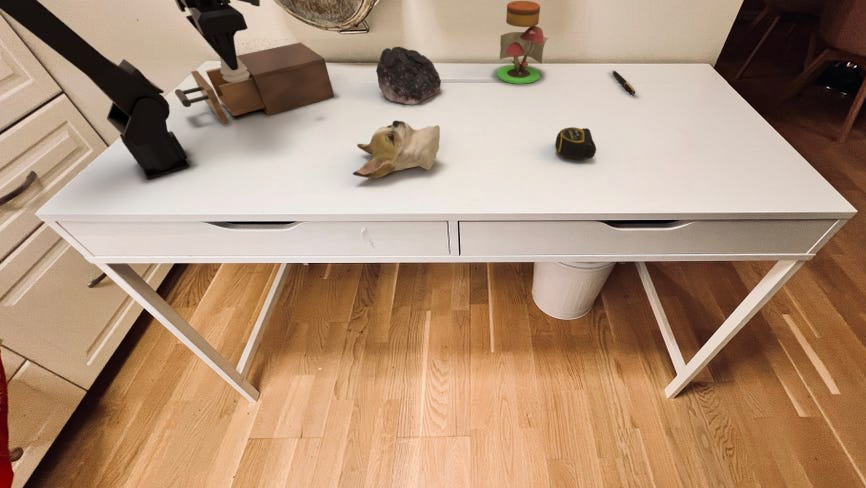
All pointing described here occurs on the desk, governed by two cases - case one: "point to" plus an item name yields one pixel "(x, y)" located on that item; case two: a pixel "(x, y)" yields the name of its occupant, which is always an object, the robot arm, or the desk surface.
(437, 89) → the crystal cluster
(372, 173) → the ceramic sculpture
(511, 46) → the mushroom figurine
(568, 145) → the tape measure
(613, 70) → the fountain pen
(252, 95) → the drawer
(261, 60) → the cabinet
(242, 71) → the rook chess piece
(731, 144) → the desk surface
